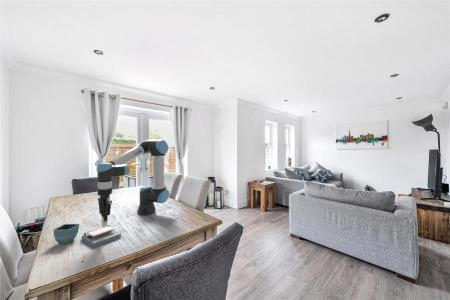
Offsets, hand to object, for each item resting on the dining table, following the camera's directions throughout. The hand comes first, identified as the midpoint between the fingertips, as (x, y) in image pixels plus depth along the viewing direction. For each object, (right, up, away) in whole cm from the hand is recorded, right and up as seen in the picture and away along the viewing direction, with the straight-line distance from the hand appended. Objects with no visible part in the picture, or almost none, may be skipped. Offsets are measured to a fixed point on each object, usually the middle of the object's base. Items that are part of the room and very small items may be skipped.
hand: (104, 226), depth 113 cm
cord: (-5, -6, +3) cm, 8 cm away
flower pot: (-20, -8, -4) cm, 22 cm away
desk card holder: (-2, -8, +1) cm, 9 cm away
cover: (-3, -4, +1) cm, 6 cm away
